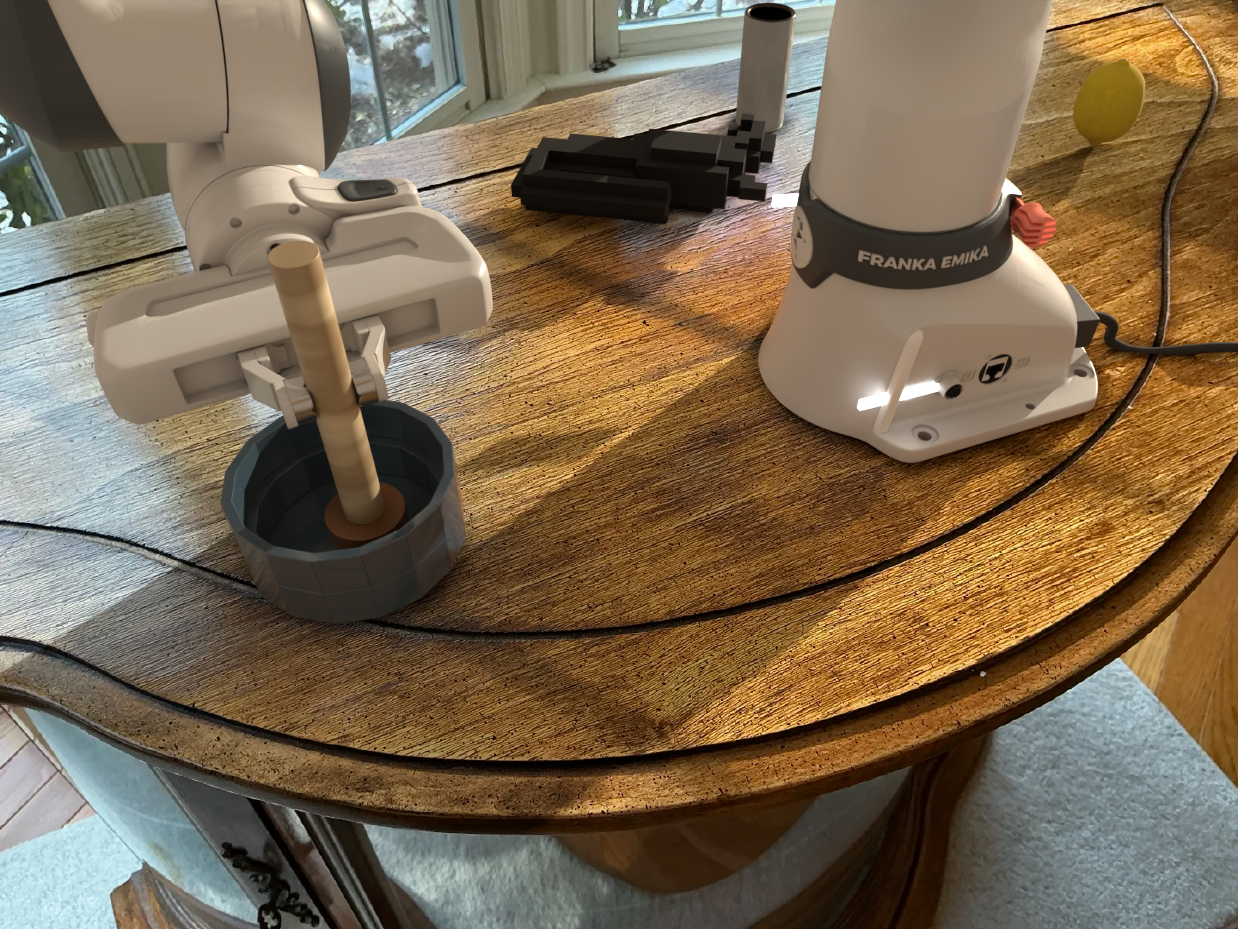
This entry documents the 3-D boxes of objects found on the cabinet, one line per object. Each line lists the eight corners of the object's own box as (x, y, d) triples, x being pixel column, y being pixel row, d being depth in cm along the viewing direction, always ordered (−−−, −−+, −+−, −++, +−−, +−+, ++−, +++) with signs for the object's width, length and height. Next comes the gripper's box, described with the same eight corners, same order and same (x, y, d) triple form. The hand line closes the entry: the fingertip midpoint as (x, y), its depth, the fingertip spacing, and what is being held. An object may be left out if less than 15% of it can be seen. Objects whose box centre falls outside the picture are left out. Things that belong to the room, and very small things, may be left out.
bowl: (460, 458, 62) (448, 386, 58) (473, 614, 54) (460, 542, 49) (261, 483, 61) (234, 410, 56) (242, 646, 52) (208, 576, 48)
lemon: (1049, 136, 92) (1077, 50, 86) (1100, 127, 93) (1131, 42, 87) (1086, 164, 88) (1118, 76, 83) (1138, 154, 89) (1173, 67, 84)
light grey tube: (790, 118, 95) (804, 8, 87) (770, 137, 92) (782, 25, 85) (748, 107, 96) (758, -2, 89) (727, 126, 94) (735, 14, 86)
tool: (551, 85, 88) (504, 167, 77) (780, 104, 85) (763, 192, 75) (554, 141, 92) (510, 226, 81) (773, 162, 89) (756, 253, 78)
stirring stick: (362, 489, 57) (287, 217, 45) (424, 515, 56) (365, 241, 43) (313, 540, 55) (218, 266, 42) (377, 568, 53) (299, 294, 41)
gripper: (59, 258, 51) (83, 420, 42) (435, 170, 57) (524, 296, 49) (105, 353, 56) (135, 517, 47) (449, 262, 62) (533, 392, 53)
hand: (337, 403), depth 48 cm, fingers closed on stirring stick, 2 cm apart
